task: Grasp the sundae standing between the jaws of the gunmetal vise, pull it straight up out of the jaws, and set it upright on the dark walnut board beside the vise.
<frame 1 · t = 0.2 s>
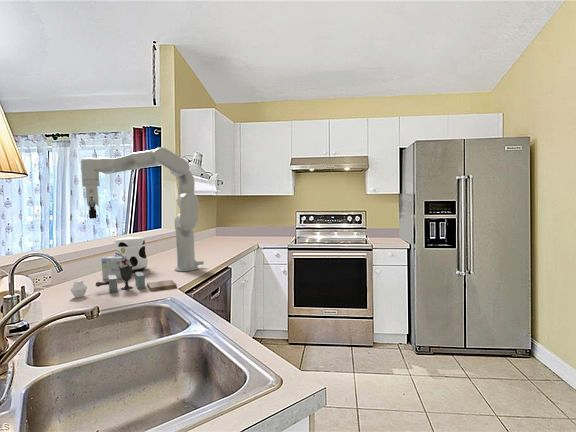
hand: (93, 218, 190), 31 cm above the counter, tool pointing down, fingers open, 9 cm apart
white faceted knobby ball: (79, 297, 159), on the counter
light bulb box: (115, 278, 196), on the counter
vise: (126, 288, 171), on the counter
walnut board: (161, 287, 172), on the counter
milk container: (131, 270, 215), on the counter
sundae: (127, 289, 171), on the counter
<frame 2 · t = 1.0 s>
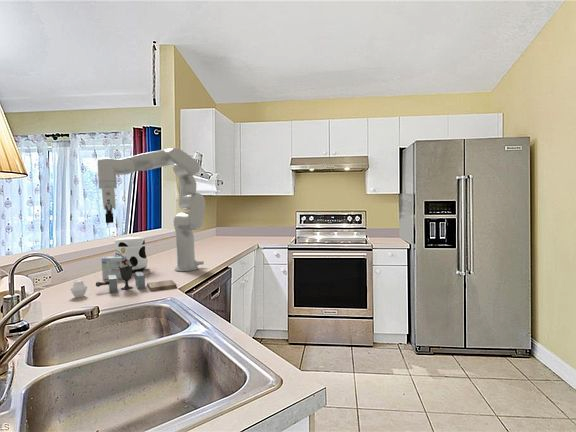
hand: (109, 222, 178), 29 cm above the counter, tool pointing down, fingers open, 9 cm apart
nothing on the counter moved.
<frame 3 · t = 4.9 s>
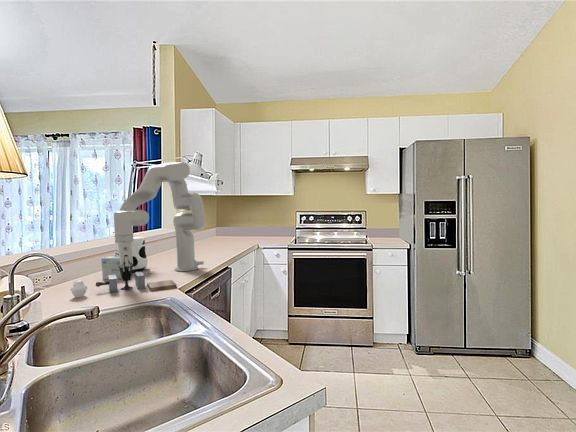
hand: (126, 278, 171), 4 cm above the counter, tool pointing down, fingers closed on sundae, 4 cm apart
sundae: (127, 289, 171), on the counter, touching gripper
everything else where it was.
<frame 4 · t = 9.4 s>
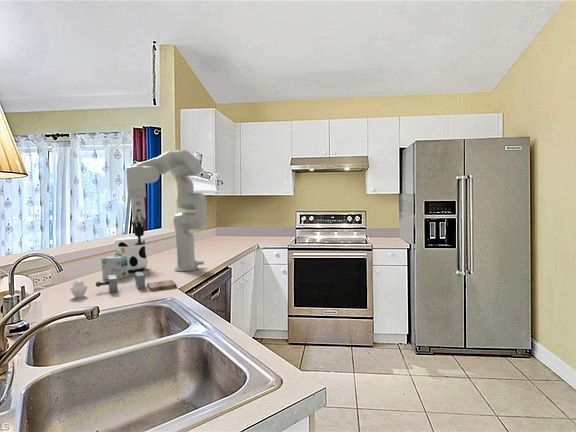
hand: (139, 234, 170), 24 cm above the counter, tool pointing down, fingers closed on sundae, 4 cm apart
sundae: (139, 245, 171), point 19 cm above the counter, touching gripper
everything else where it was.
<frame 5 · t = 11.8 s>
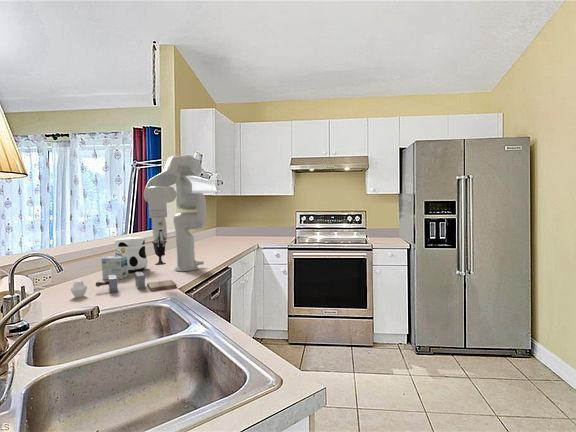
hand: (160, 254, 171), 15 cm above the counter, tool pointing down, fingers closed on sundae, 4 cm apart
sundae: (160, 264, 171), point 10 cm above the counter, touching gripper
everything else where it was.
when the fingers open (7 cm above the counter, at t = 14.0 s): sundae drops 1 cm, resting on walnut board.
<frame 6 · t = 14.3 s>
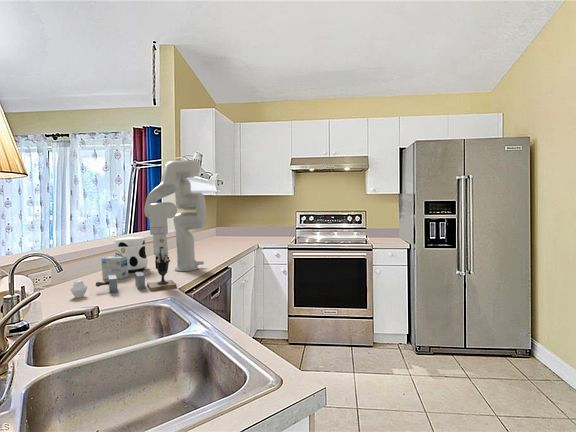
hand: (160, 269, 172), 8 cm above the counter, tool pointing down, fingers open, 7 cm apart
sundae: (163, 283, 173), point 1 cm above the counter, touching walnut board
everything else where it was.
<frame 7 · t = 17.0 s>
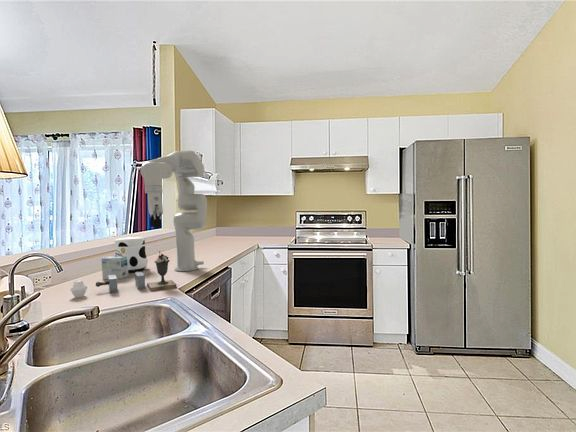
hand: (155, 227, 174), 27 cm above the counter, tool pointing down, fingers open, 9 cm apart
nothing on the counter moved.
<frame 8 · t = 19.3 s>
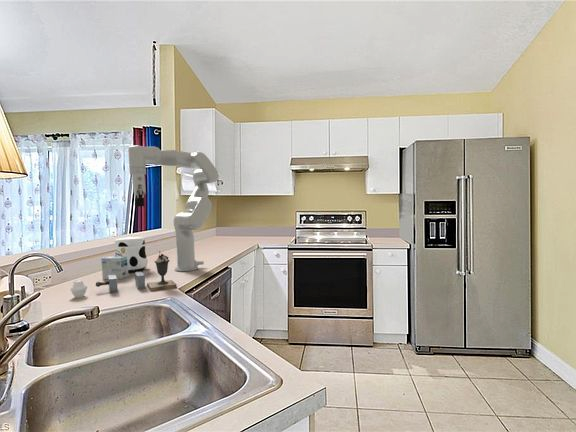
hand: (139, 206, 189), 36 cm above the counter, tool pointing down, fingers open, 9 cm apart
nothing on the counter moved.
at the end: sundae inside the target area on the walnut board (0.8 cm from its centre), point 1.3 cm above the walnut board's base; sundae tilted 0°; the gripper is holding nothing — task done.
